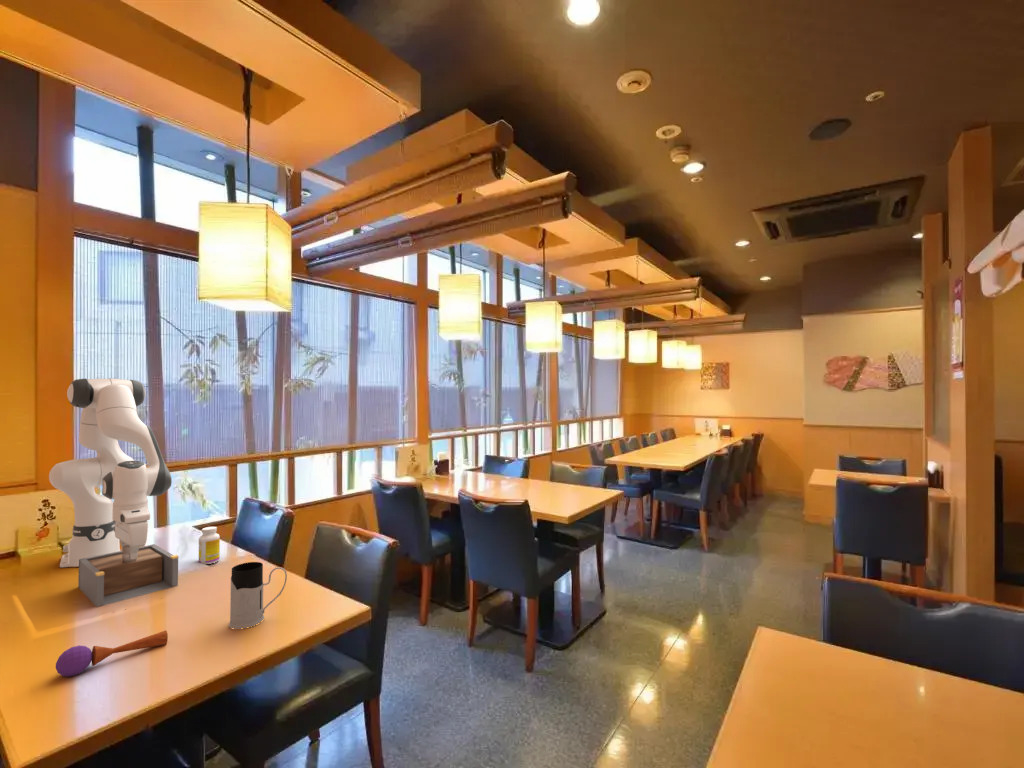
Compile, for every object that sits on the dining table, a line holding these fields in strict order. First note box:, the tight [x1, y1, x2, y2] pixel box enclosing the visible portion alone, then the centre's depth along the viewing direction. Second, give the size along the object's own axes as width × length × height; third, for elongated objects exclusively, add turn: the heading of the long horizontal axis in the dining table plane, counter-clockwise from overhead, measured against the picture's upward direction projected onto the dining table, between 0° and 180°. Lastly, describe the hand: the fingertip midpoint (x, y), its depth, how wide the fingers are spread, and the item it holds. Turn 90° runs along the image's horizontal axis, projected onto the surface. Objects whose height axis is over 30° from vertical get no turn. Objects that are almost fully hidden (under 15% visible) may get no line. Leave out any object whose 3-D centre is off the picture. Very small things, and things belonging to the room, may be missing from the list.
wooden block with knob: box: [89, 545, 162, 596], centre depth 155 cm, size 14×16×13 cm
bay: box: [77, 544, 179, 608], centre depth 153 cm, size 24×20×11 cm
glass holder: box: [227, 561, 288, 630], centre depth 131 cm, size 9×14×15 cm, turn 111°
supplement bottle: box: [198, 526, 221, 565], centre depth 178 cm, size 7×7×13 cm
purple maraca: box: [55, 630, 168, 677], centre depth 112 cm, size 6×6×20 cm
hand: (129, 555), depth 152 cm, fingers open, 7 cm apart
